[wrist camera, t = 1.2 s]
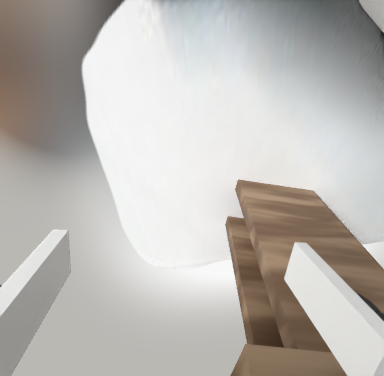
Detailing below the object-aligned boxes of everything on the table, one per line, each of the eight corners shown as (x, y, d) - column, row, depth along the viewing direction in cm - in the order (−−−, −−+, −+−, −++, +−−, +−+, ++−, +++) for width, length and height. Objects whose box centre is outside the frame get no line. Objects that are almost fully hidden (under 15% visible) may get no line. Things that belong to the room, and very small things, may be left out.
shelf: (215, 176, 42) (251, 376, 16) (324, 192, 43) (525, 401, 17) (205, 221, 47) (219, 433, 20) (303, 235, 48) (435, 450, 22)
